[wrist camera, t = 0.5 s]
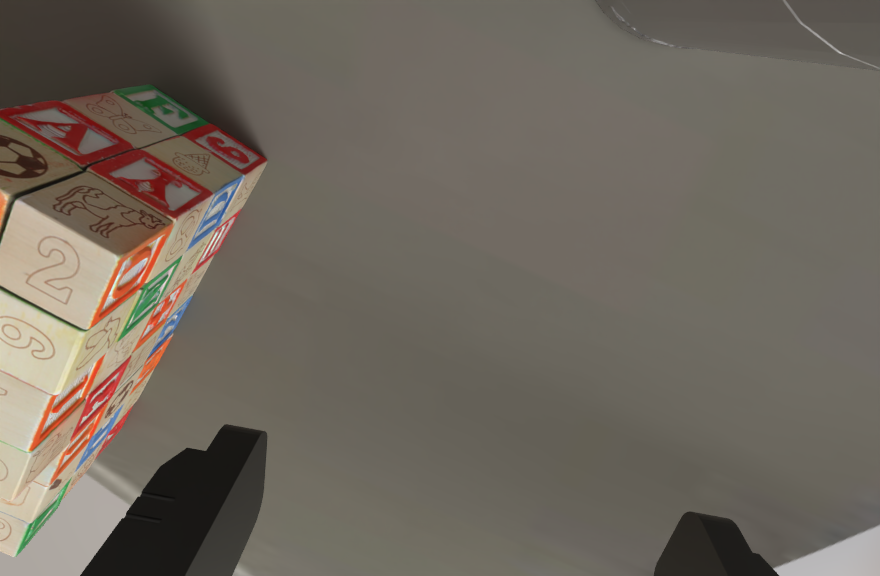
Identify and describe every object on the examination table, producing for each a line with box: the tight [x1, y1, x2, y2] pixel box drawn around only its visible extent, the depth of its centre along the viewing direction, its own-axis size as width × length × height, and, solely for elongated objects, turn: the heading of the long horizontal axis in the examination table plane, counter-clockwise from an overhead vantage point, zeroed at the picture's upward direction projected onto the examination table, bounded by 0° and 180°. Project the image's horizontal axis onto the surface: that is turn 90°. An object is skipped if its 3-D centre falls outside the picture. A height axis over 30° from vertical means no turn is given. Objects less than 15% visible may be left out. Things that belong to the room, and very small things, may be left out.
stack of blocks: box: [0, 84, 267, 557], centre depth 24 cm, size 21×6×12 cm, turn 145°
